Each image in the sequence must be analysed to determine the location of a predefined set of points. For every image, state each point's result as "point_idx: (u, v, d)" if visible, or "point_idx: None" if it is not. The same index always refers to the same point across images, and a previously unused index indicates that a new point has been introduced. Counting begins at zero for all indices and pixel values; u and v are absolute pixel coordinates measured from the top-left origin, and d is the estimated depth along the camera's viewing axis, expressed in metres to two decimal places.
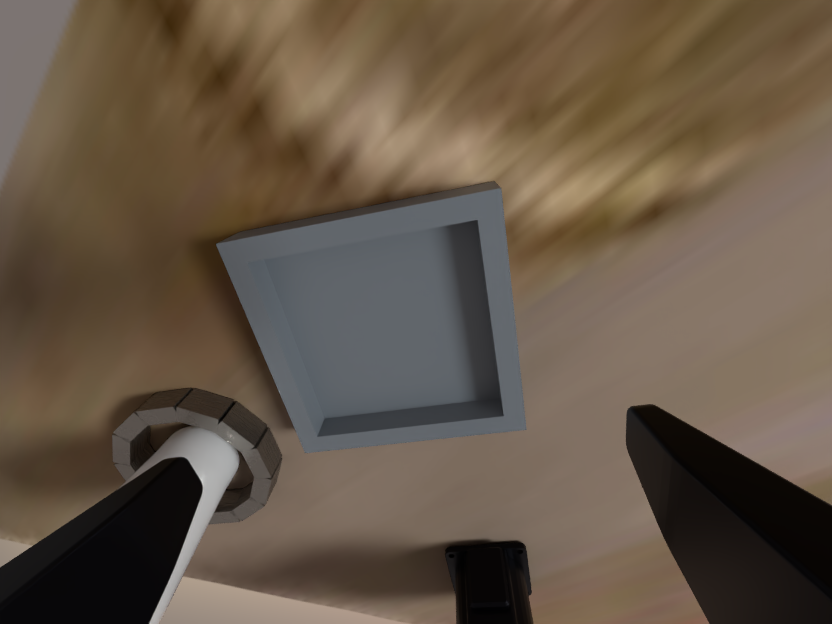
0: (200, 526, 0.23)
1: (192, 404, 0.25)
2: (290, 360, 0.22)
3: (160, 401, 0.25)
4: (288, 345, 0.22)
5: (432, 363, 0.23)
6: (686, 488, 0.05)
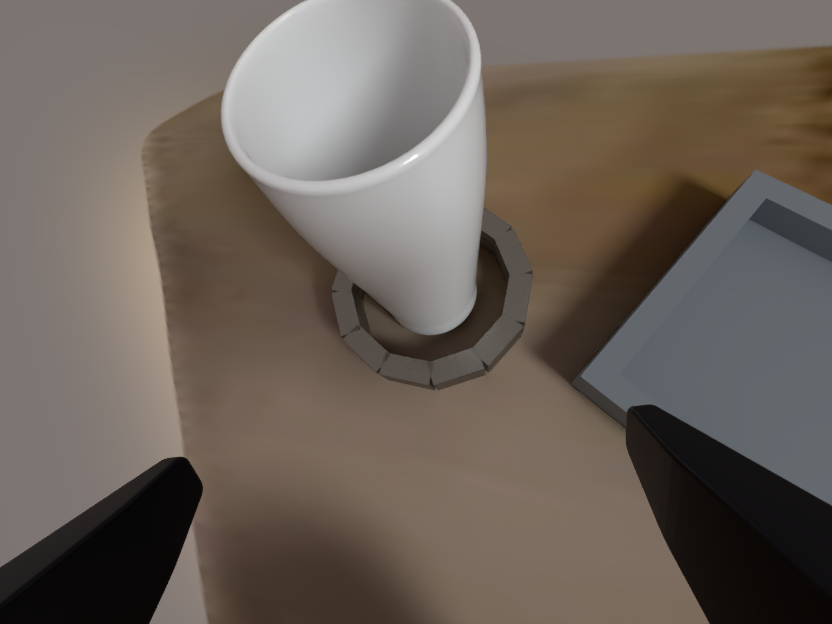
0: (449, 297, 0.17)
1: None
2: (686, 291, 0.18)
3: None
4: None
5: (815, 447, 0.17)
6: (686, 488, 0.05)
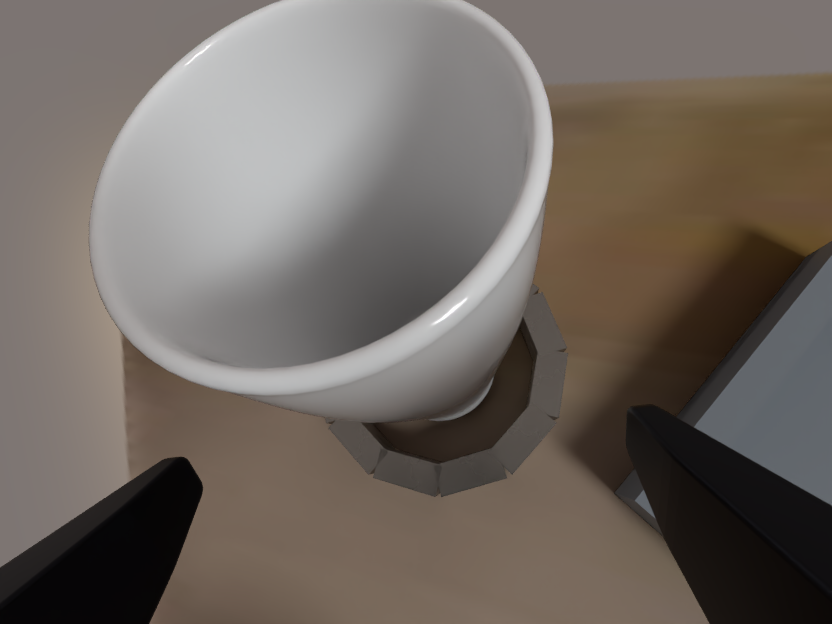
0: (466, 404, 0.12)
1: None
2: (770, 386, 0.14)
3: None
4: None
5: None
6: (686, 488, 0.05)
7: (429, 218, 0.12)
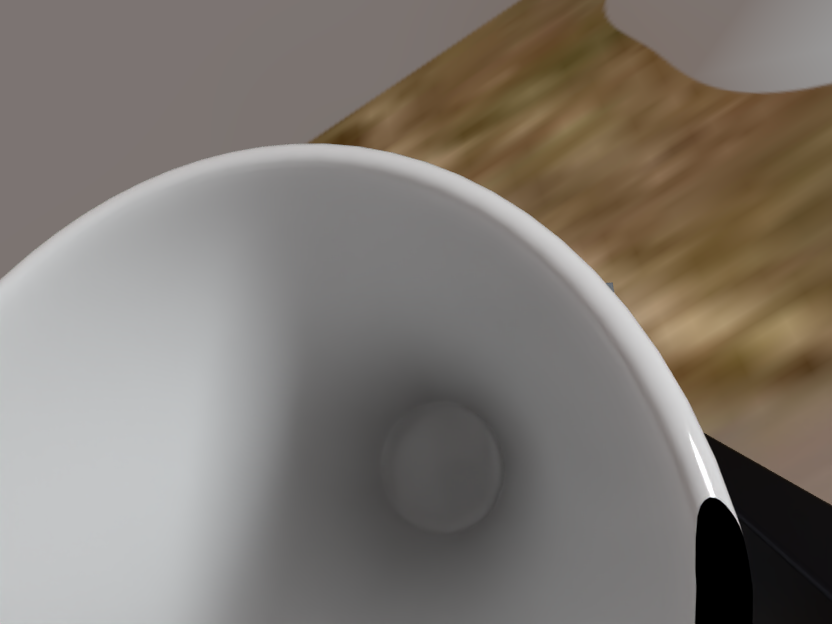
0: None
1: None
2: None
3: None
4: None
5: None
6: None
7: (436, 349, 0.09)
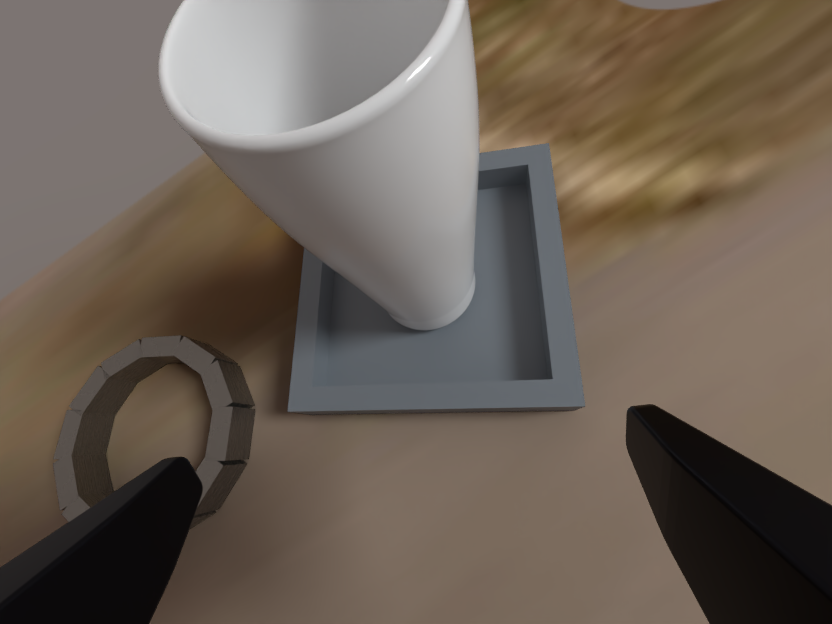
0: (444, 287, 0.15)
1: (198, 343, 0.23)
2: (323, 289, 0.21)
3: None
4: (327, 278, 0.22)
5: (468, 326, 0.20)
6: (686, 488, 0.05)
7: None
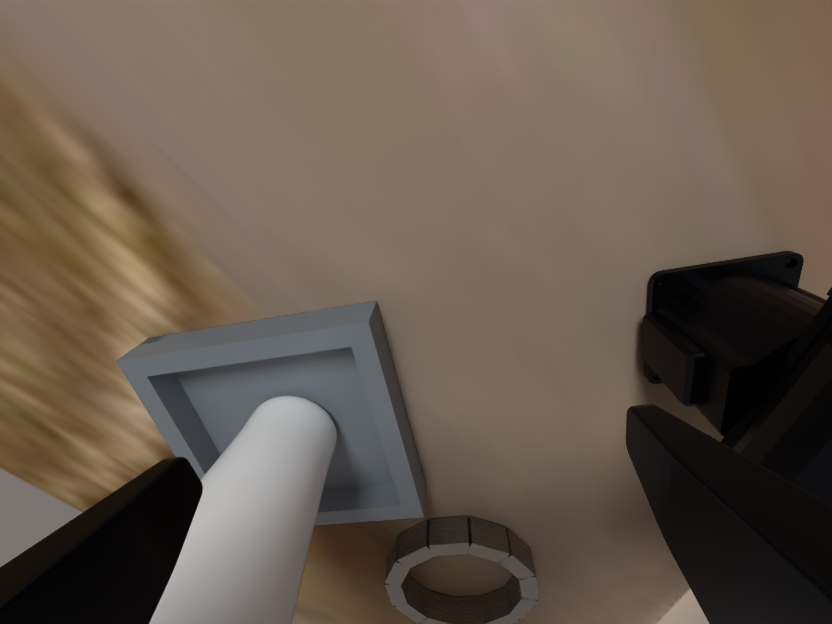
0: (291, 482, 0.17)
1: (388, 569, 0.28)
2: (320, 506, 0.25)
3: None
4: None
5: (323, 393, 0.23)
6: (686, 488, 0.05)
7: None
